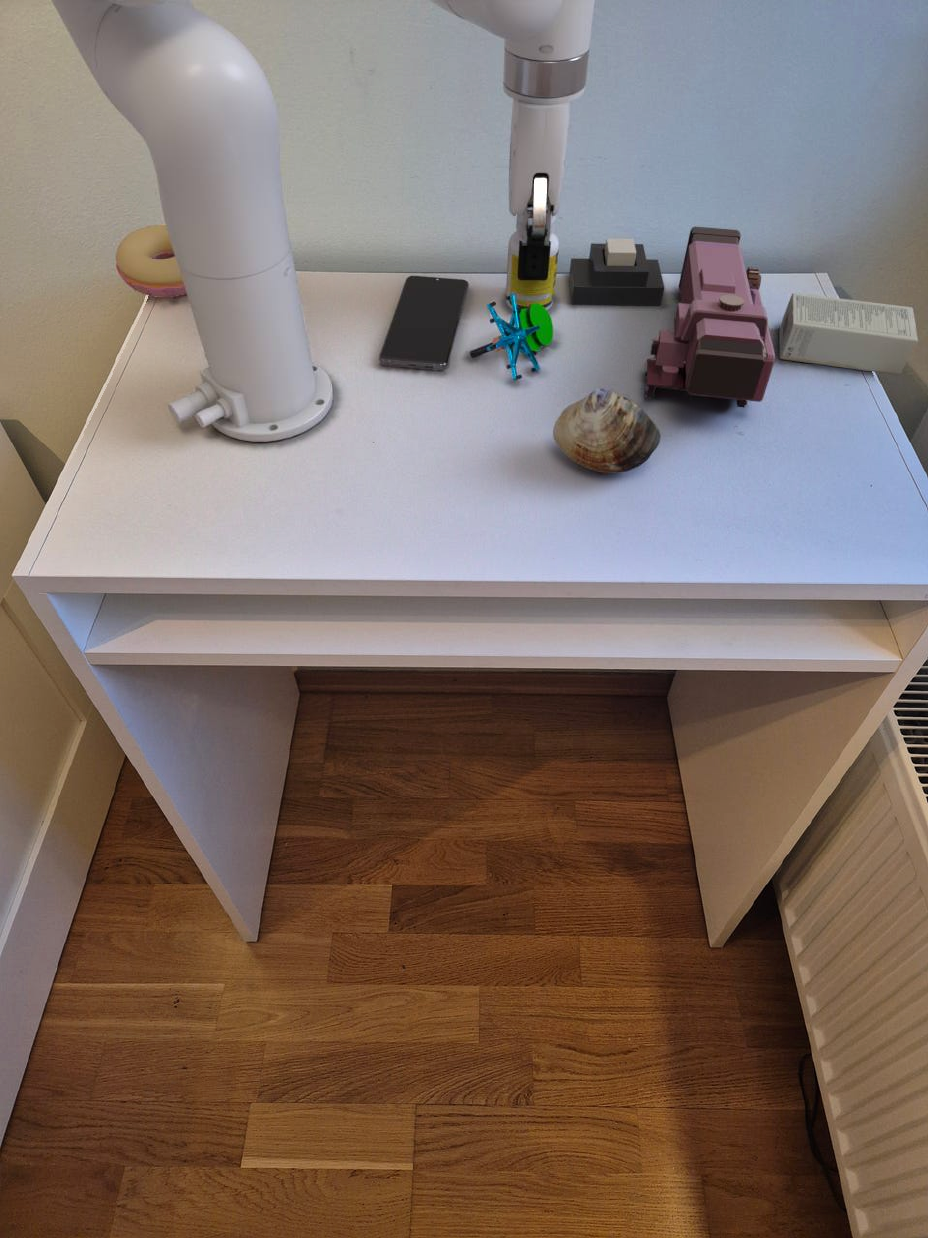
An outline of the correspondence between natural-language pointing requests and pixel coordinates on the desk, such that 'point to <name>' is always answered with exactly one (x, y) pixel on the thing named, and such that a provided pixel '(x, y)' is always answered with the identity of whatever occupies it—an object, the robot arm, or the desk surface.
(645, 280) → the dark gray block frame
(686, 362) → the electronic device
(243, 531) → the desk surface
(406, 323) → the smartphone
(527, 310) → the stick construction toy
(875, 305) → the cosmetic box
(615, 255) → the key back
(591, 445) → the seashell
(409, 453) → the desk surface
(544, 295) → the supplement bottle
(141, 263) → the doughnut
